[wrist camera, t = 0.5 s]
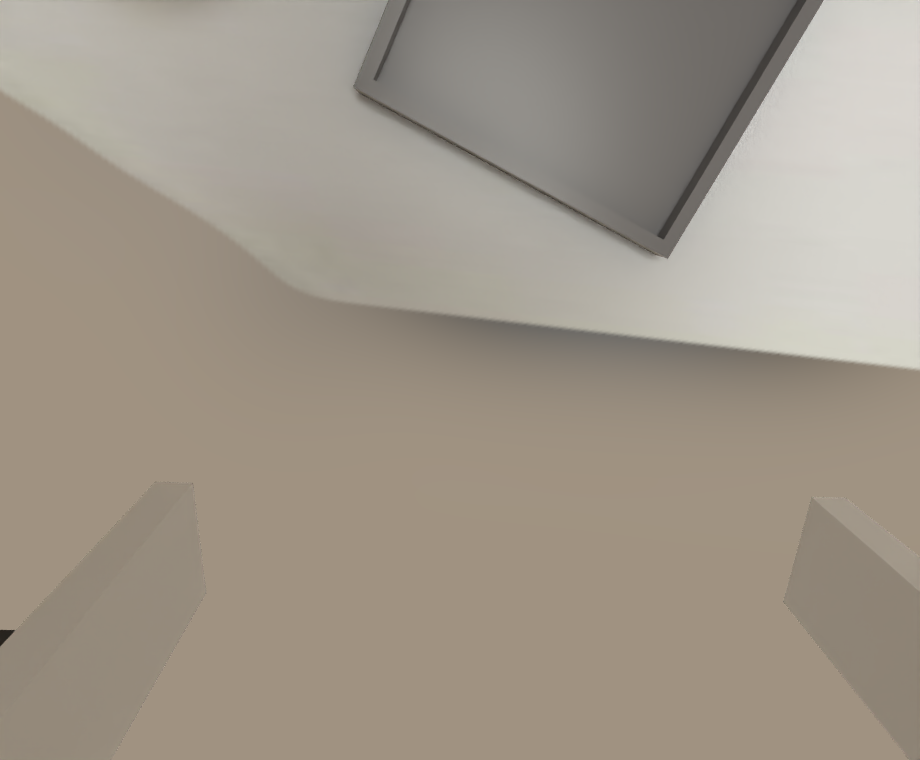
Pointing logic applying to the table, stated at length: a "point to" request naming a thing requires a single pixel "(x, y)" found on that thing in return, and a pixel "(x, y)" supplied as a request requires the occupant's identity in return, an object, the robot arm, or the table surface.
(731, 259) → the table surface
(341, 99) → the table surface
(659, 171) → the tray
